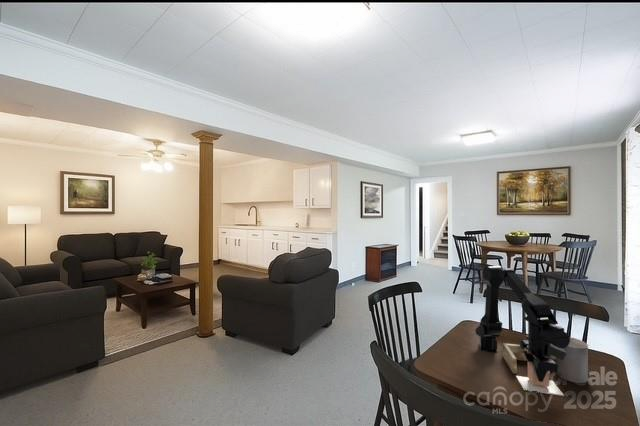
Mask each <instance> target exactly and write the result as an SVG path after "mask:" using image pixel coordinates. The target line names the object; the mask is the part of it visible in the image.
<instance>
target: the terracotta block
mask: <svg viewBox="0 0 640 426" xmlns="http://www.w3.org/2000/svg"><path fill="white" fill-rule="evenodd" d="M527 377H528V378H529V380H530V381H531V382H532V384H534V385H541V386H549V380H550V378H549V371H547V373H546V375H545V378H544V380H543V382H540V381H539V380H538V377H537V375H536V372H535V370H534V367H533V365H532V362H528V361H527Z"/></svg>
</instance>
